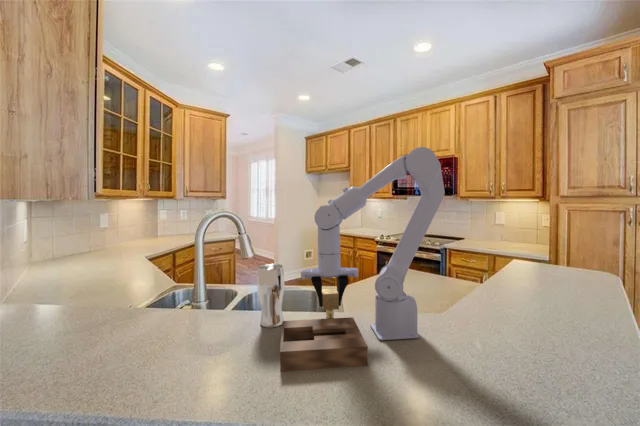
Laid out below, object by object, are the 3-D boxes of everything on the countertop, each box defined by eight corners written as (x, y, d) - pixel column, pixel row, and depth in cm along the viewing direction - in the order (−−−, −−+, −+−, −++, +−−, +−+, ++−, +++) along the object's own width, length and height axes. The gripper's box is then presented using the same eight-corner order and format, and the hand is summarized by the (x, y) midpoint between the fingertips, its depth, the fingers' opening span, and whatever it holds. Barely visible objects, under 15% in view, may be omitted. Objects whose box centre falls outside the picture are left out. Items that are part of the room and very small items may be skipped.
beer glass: (253, 325, 77) (251, 268, 76) (269, 316, 83) (267, 262, 82) (275, 330, 74) (273, 270, 73) (290, 320, 80) (288, 264, 79)
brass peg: (336, 321, 79) (336, 288, 78) (338, 327, 75) (338, 293, 75) (321, 322, 79) (321, 289, 78) (323, 328, 75) (322, 294, 74)
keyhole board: (353, 332, 72) (352, 317, 72) (367, 365, 58) (367, 346, 58) (282, 336, 71) (282, 321, 71) (280, 371, 57) (279, 351, 57)
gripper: (353, 249, 80) (354, 298, 81) (300, 250, 79) (301, 300, 80) (359, 254, 73) (360, 308, 74) (300, 256, 72) (301, 311, 73)
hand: (329, 305), depth 77 cm, fingers closed on brass peg, 4 cm apart
